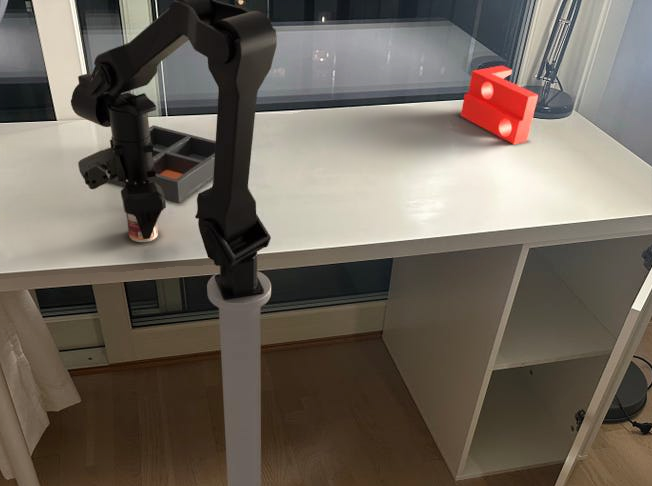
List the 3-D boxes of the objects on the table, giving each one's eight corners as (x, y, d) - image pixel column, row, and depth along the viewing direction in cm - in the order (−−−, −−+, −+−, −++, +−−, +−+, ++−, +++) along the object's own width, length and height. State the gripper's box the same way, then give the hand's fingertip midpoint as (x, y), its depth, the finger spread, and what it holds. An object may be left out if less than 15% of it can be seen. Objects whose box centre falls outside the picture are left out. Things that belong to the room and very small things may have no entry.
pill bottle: (138, 226, 122) (132, 182, 117) (162, 232, 121) (158, 187, 116) (124, 239, 119) (117, 194, 113) (149, 245, 118) (143, 200, 112)
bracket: (469, 71, 160) (502, 65, 164) (460, 115, 167) (492, 109, 171) (525, 97, 149) (559, 90, 153) (513, 144, 155) (546, 136, 159)
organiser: (232, 164, 142) (232, 145, 140) (179, 203, 129) (177, 182, 127) (155, 144, 148) (153, 125, 146) (96, 179, 135) (93, 158, 133)
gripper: (72, 116, 113) (87, 204, 123) (82, 166, 100) (99, 260, 110) (142, 110, 116) (151, 197, 126) (161, 158, 102) (170, 250, 113)
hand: (142, 224), depth 118 cm, fingers open, 9 cm apart
